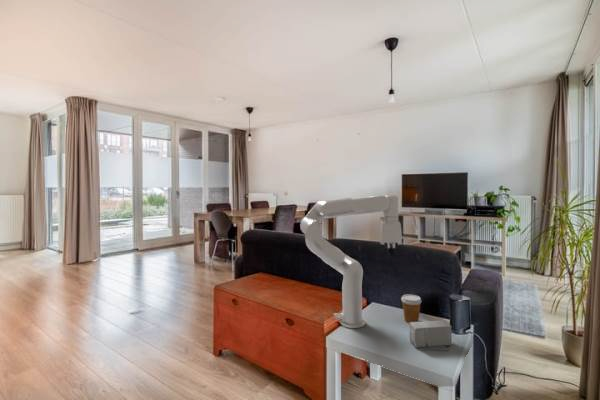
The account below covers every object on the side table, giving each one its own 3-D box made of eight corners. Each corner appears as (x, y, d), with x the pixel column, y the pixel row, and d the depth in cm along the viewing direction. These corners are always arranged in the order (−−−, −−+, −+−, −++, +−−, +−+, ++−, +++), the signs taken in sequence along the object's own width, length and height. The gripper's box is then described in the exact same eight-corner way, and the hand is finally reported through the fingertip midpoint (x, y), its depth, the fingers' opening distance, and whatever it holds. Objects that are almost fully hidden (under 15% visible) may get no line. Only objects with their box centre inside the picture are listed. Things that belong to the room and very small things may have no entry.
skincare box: (414, 328, 124) (452, 326, 125) (408, 321, 132) (443, 318, 132) (415, 348, 125) (453, 346, 125) (408, 340, 132) (444, 337, 132)
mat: (417, 349, 124) (417, 348, 124) (411, 335, 136) (411, 334, 136) (448, 351, 123) (448, 350, 122) (439, 336, 134) (439, 335, 134)
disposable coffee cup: (418, 317, 155) (418, 294, 154) (424, 325, 145) (424, 301, 145) (399, 316, 156) (399, 293, 155) (403, 325, 146) (403, 300, 146)
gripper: (376, 220, 151) (376, 257, 151) (407, 220, 148) (407, 257, 149) (374, 219, 158) (375, 253, 159) (404, 218, 156) (405, 254, 156)
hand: (391, 255), depth 154 cm, fingers closed
